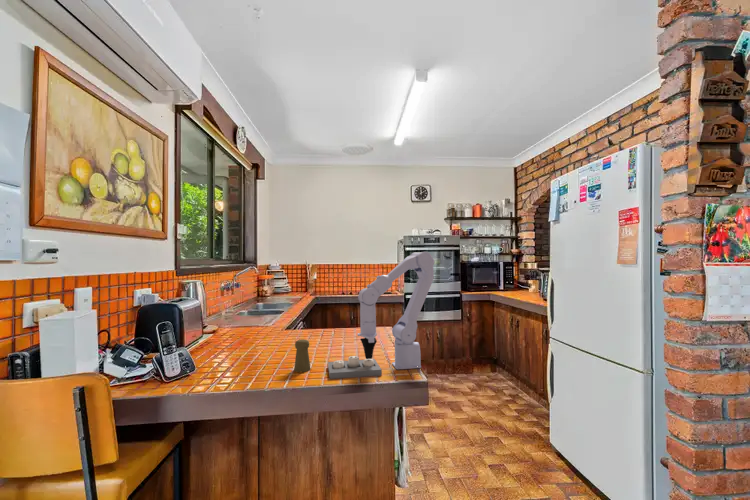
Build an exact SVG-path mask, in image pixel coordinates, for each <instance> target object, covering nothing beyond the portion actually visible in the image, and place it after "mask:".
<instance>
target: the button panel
mask: <svg viewBox="0 0 750 500" xmlns="http://www.w3.org/2000/svg"><path fill="white" fill-rule="evenodd" d="M372 359H373V360H374V366H369V367H363V360H364V359H359V366H358V367H349V366H348V360H343V361H344V368H338V369H333V362H334V361H328V362H327V369H328V376H329V380H333V379H347V378H348V379H349V378H363V377H365V378H366V377H379V376H383V375H382V373H383V371H382V368H381V367H380V365H379V363H378V362H377V360H376V358H372Z"/></svg>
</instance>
